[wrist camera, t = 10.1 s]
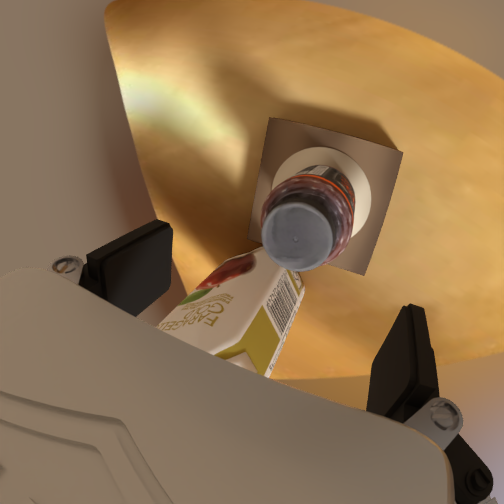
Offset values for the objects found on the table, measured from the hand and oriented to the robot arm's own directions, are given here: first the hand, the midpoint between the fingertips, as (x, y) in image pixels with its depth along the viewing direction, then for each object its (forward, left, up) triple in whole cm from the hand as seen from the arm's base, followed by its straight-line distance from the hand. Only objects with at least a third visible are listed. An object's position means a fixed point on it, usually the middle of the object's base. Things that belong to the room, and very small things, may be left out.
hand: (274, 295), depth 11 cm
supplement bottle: (0, 0, -17) cm, 17 cm away
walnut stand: (+1, 0, -20) cm, 20 cm away
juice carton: (+4, +11, -20) cm, 23 cm away
